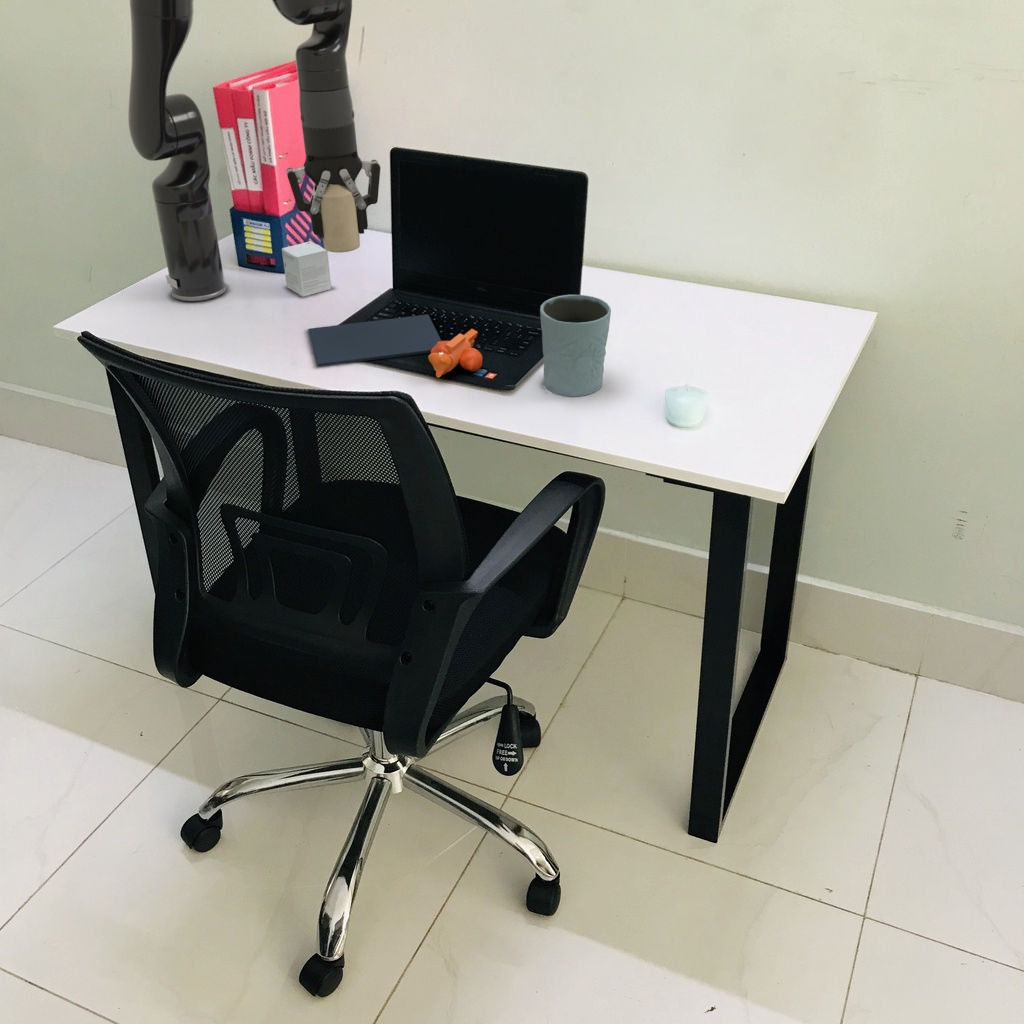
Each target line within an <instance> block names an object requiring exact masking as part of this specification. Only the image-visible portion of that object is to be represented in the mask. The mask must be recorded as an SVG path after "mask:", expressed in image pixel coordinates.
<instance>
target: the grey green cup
mask: <svg viewBox="0 0 1024 1024" xmlns="http://www.w3.org/2000/svg"><path fill="white" fill-rule="evenodd" d="M539 314H540V327H541V340H542V354H543V358H542V359H543V382H544V386H545V388H546V389H547V390H548V391H549V392H551V393H553V394H556V395H558V396H562V397H563V396H564V397H584V396H585V397H586V396H589V395H592V394H594V393H596V392H597V391H599V390H600V389H601V387H602V384H603V380H604V371H605V367H604V366H605V365H604V363H605V357H606V354H607V351H606V346H607V342H608V338H609V337H608V336H609V331H610V322H611V314H612V309H611V306H610V305H609V304H608V303H607V302H606V301H605V300H603V299H601V298H598V297H595V296H593V295H585V294H563V295H558V296H554V297H551V298H549V299H547V300H545V301H544V302H542V304H540V308H539Z"/></svg>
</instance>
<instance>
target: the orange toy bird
mask: <svg viewBox="0 0 1024 1024" xmlns="http://www.w3.org/2000/svg"><path fill="white" fill-rule="evenodd" d="M478 334H479V333H478V331H477V330H475V329H473V328H471V329H470V330H468V331H467V332H465V334H462V333H458V334H457V335H455V336H454V337H453V338H452V339H451V340H441V341H439V342H437V344H436V346H435V347H434V348H432V350H431V353H429V354H428V356H427V359H428V361H429V363H430V364H431V365H432V367H433V370H434V371H435V377H436V378H440V377H442V375H446V374H447V373H449V372H451V371H452V370H453V369H454V368H456V367H457V366H458V365H460V366H461V368H463V369H464V370H465V371H469V372H477V371H479V370H480V369H481V367H482V366H483V355H482V353H481V352H480V351H479V350H478V349H476V348H474V347H473V346H474V344H475V341H476V340H475V339H476V338H477V336H478Z"/></svg>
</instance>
